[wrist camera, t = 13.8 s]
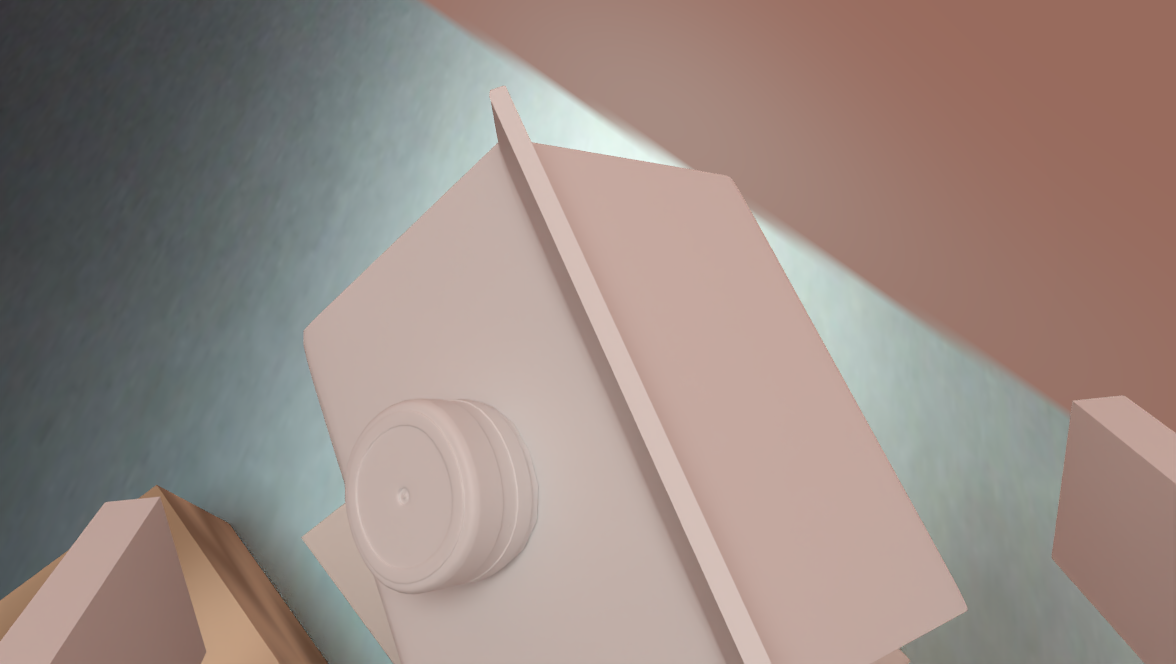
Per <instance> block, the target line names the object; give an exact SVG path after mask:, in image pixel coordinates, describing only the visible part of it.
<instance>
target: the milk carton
mask: <svg viewBox="0 0 1176 664" xmlns="http://www.w3.org/2000/svg"><path fill="white" fill-rule="evenodd" d="M489 97H490V99H491V104H492V110H493V115H494V121H495V127H496V133H497V138H498V143H497V144H496V145H495V146H494V147H493V148H492V149H491V150H490V151H489V152H488V153H487V154H486V155H485V156H484V157H482V158H481V159H480V160H479V161H478V162H477V163H476V164H475V165H474V166H473V167H472V168H471V169H470V170H469V171H468V172H467V173H466V174H465V175H464V176H463V177H462V178H461V179H460V180H459V181H458V182H456V183H455V184H454V185H453V186H452V187H451V188H450V189H449V190H448V191H447V192H446V193H445V194H444V195H443V196H442V197H441V198H440V199H439V200H438V201H437V202H436V203H435V204H434V205H433V206H432V207H431V208H429V209H428V210H427V211H426V212H425V213H424V214H423V215H422V216H421V217H420V218H419V219H418V220H417V221H416V222H415V223H414V224H413V225H412V226H411V227H410V228H409V229H408V230H407V231H406V232H405V233H404V234H402V235H401V236H400V237H399V238H398V239H397V240H396V241H395V242H394V243H393V244H392V245H391V246H390V247H389V248H388V249H387V250H386V251H385V252H384V253H383V254H382V255H381V256H380V257H379V258H378V259H376V260H375V261H374V262H373V263H372V264H371V265H370V266H369V267H368V268H367V269H366V270H365V271H364V272H363V273H362V274H361V275H360V276H359V277H358V278H357V279H356V280H355V281H354V282H353V283H352V284H351V285H349V286H348V287H347V288H346V289H345V290H344V291H343V292H342V293H341V294H340V295H339V296H338V297H337V298H336V299H335V300H334V301H333V302H332V303H331V304H330V305H329V306H328V307H327V308H326V309H325V310H323V311H322V312H321V313H320V314H319V315H318V316H317V317H316V318H315V319H314V320H313V321H312V322H311V323H310V324H309V325H308V326H307V328H306V329H305V330H304V331H303V332H304V349H305V353H306V357H307V362H308V365H309V369H310V372H311V376H312V379H313V383H314V386H315V389H316V393H317V396H318V399H319V402H320V406H321V409H322V412H323V415H324V419H325V422H326V425H327V428H328V432H329V435H330V438H331V441H332V445H333V448H334V451H335V454H336V457H337V461H338V464H339V467H340V470H341V473H342V477H343V480H344V483H345V502H346V509H347V517H348V521H349V525H350V529H351V533H352V536H353V539H354V541H355V544H356V547H357V549H358V552H359V553H360V555H361V557H362V559H363V561H364V563H365V565H366V566H367V567H368V569H369V570H370V571H371V573H372V574H373V575H374V578H375V582H376V585H377V588H378V591H379V594H380V597H381V601H382V604H383V607H384V610H385V613H386V617H387V620H388V623H389V626H390V629H391V633H392V636H393V639H394V642H395V645H396V649H397V652H398V655H399V658H400V661H401V664H871V663H873V662H874V661H876V660H878V659H880V658H882V657H884V656H885V655H887V654H889V653H891V652H893V651H894V650H896V649H898V648H900V647H902V646H904V645H905V644H907V643H909V642H911V641H913V640H915V639H916V638H918V637H920V636H922V635H924V634H926V633H927V632H929V631H931V630H933V629H935V628H937V627H938V626H940V625H942V624H944V623H946V622H947V621H949V620H951V619H953V618H955V617H957V616H958V615H960V614H962V613H964V612H966V611H967V606H966V603H965V601H964V599H963V597H962V595H961V593H960V591H959V589H958V587H957V585H956V583H955V581H954V579H953V577H952V576H951V574H950V572H949V570H948V568H947V566H946V564H945V563H944V561H943V559H942V557H941V555H940V553H939V552H938V550H937V548H936V546H935V544H934V542H933V541H932V539H931V537H930V535H929V533H928V531H927V530H926V528H925V526H924V524H923V522H922V521H921V519H920V517H919V515H918V513H917V512H916V510H915V508H914V506H913V504H912V502H911V501H910V499H909V497H908V495H907V493H906V492H905V490H904V488H903V486H902V484H901V482H900V481H899V479H898V477H897V475H896V473H895V472H894V470H893V468H892V466H891V464H890V463H889V461H888V459H887V457H886V455H885V453H884V452H883V450H882V448H881V446H880V444H879V443H878V441H877V439H876V437H875V435H874V433H873V432H872V430H871V428H870V426H869V424H868V423H867V421H866V419H865V417H864V415H863V414H862V412H861V410H860V408H859V406H858V404H857V403H856V401H855V399H854V397H853V395H852V394H851V392H850V390H849V388H848V386H847V384H846V383H845V381H844V379H843V377H842V375H841V374H840V372H839V370H838V368H837V366H836V365H835V363H834V361H833V359H832V357H831V355H830V354H829V352H828V350H827V348H826V346H825V345H824V343H823V341H822V339H821V337H820V336H819V334H818V332H817V330H816V328H815V326H814V325H813V323H812V321H811V319H810V317H809V316H808V314H807V312H806V310H805V308H804V306H803V305H802V303H801V301H800V299H799V297H798V296H797V294H796V292H795V290H794V288H793V287H792V285H791V283H790V281H789V279H788V277H787V276H786V274H785V272H784V270H783V268H782V267H781V265H780V263H779V261H778V259H777V257H776V256H775V254H774V252H773V250H772V248H771V247H770V245H769V243H768V241H767V239H766V238H765V236H764V234H763V232H762V230H761V229H760V227H759V225H758V223H757V221H756V220H755V218H754V216H753V214H752V212H751V211H750V209H749V207H748V205H747V203H746V202H745V200H744V198H743V196H742V195H741V193H740V191H739V190H738V188H737V187H736V185H735V183H734V182H733V180H732V179H731V178H730V177H729V176H726V175H720V174H715V173H708V172H703V171H697V170H691V169H685V168H679V167H674V166H668V165H662V164H656V163H650V162H644V161H638V160H632V159H627V158H621V157H615V156H609V155H603V154H597V153H591V152H585V151H580V150H574V149H568V148H562V147H556V146H550V145H544V144H538V143H533V142H531V140H530V138H529V136H528V134H527V132H526V129H525V127H524V125H523V123H522V121H521V119H520V116H519V114H518V112H517V110H516V108H515V106H514V103H513V101H512V99H511V97H510V95H509V93H508V90H507V88H506V86H501V87H498V88H495V89H492V90H490V96H489Z"/></svg>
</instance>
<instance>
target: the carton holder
mask: <svg viewBox="0 0 1176 664" xmlns="http://www.w3.org/2000/svg"><path fill="white" fill-rule="evenodd" d="M151 497H160V498H161V501H162V504H163V508H164V511H165V514H166V518H167V521H168V524H169V528H170V531H171V534H172V538H173V541H174V544H175V548H176V551H177V555H178V558H179V561H180V565H181V568H182V571H183V575H184V578H185V581H186V585H187V588H188V591H189V595H190V598H191V601H192V605H193V608H194V611H195V615H196V618H197V622H198V625H199V628H200V632H201V635H202V638H203V642H204V645H205V648H206V654H205V656H204V658H203V661H202V663H201V664H328V663H327V661H326V660H325V659H324V657H323V656H322V654H321V653H320V651H319V650H318V649H317V647H316V646H315V644H314V643H313V642H312V640H311V639H310V637H309V636H308V635H307V633H306V632H305V630H304V629H303V627H302V626H301V625H300V623H299V622H298V620H297V619H296V618H295V616H294V615H293V613H292V612H291V610H290V609H289V608H288V606H287V605H286V603H285V602H284V601H283V599H282V598H281V596H280V595H279V594H278V592H277V591H276V589H275V588H274V586H273V585H272V584H271V582H270V581H269V579H268V578H267V577H266V575H265V574H264V572H263V571H262V569H261V568H260V567H259V565H258V564H257V562H256V561H255V560H254V558H253V557H252V555H251V554H250V553H249V551H248V550H247V548H246V547H245V545H244V544H243V543H242V541H241V540H240V538H239V537H238V536H237V534H236V533H235V531H234V530H233V528H232V527H231V526H230V524H229V523H227V522H225V521H223V520H222V519H220V518H218V517H216V516H214V515H212V514H210V513H208V512H207V511H205V510H203V509H201V508H199V507H197V506H195V505H193V504H191V503H190V502H188V501H186V500H184V499H182V498H180V497H178V496H176V495H175V494H173V493H171V492H169V491H167V490H165V489H163V488H161V487H160V486H158V485H156V486H155V487H153V488H152V489H151V490H149V491H148V492H147V493H145V494H144V495H142V496H141V497H140V498H138V499H142V498H151ZM68 551H69V550H68ZM68 551H67V552H68ZM67 552H65V553H64V554H63V555H61V556H60V557H59V558H57V559H56V560H55V561H53V562H52V563H51V564H49V565H48V566H46V567H45V568H44V569H42V570H41V571H40V572H38V573H37V574H36V575H34V576H33V577H32V578H30V579H29V580H28V581H26V582H25V583H23V584H22V585H21V586H19V587H18V588H17V589H15V590H14V591H13V592H11V593H10V594H9V595H7V596H6V597H5V598H3V599H2V600H0V641H1V640H2V638H3V637H4V636H5V634H6V633H7V632H8V630H9V629H10V628H11V626H12V625H13V624H14V622H15V621H16V620H17V618H18V617H19V616H20V615H21V613H22V612H23V611H24V609H25V608H26V607H27V605H28V604H29V603H30V601H31V600H32V599H33V597H34V596H35V595H36V593H37V592H38V591H39V589H40V588H41V587H42V585H43V584H44V583H45V581H46V580H47V579H48V577H49V576H50V575H51V573H52V572H53V571H54V569H55V568H56V567H57V565H58V564H59V563H60V561H61V560H62V559H63V557H64V556H65V555H66V553H67Z"/></svg>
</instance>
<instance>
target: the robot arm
mask: <svg viewBox="0 0 1176 664" xmlns="http://www.w3.org/2000/svg"><path fill="white" fill-rule="evenodd" d="M1052 559H1053V560H1054V561H1055V562H1056V564H1057V565H1058V566H1059V567H1060V568H1061V569H1062V570H1063V572H1064V573H1065V574H1066V575H1067V576H1068V577H1069V578H1070V579H1071V581H1072V582H1073V583H1074V584H1075V585H1076V586H1077V587H1078V589H1079V590H1080V591H1081V592H1082V593H1083V594H1084V595H1085V596H1086V598H1087V599H1088V600H1089V601H1090V602H1091V603H1092V604H1093V605H1094V607H1095V608H1096V609H1097V610H1098V611H1099V612H1100V613H1101V615H1102V616H1103V617H1104V618H1105V619H1106V620H1107V621H1108V622H1109V624H1110V625H1111V626H1112V627H1113V628H1114V629H1115V630H1116V631H1117V633H1118V634H1119V635H1120V636H1121V637H1122V638H1123V639H1124V641H1125V642H1126V643H1127V644H1128V645H1129V646H1130V647H1131V648H1132V650H1133V651H1134V652H1135V653H1136V654H1137V655H1138V656H1139V657H1140V659H1141V660H1142V661H1143V662H1144V663H1145V664H1176V433H1175V432H1173V431H1172V430H1171V429H1169V428H1168V427H1166V426H1165V425H1164V424H1162V423H1161V422H1160V421H1158V420H1157V419H1156V418H1154V417H1153V416H1151V415H1150V414H1149V413H1147V412H1146V411H1145V410H1143V409H1142V408H1140V407H1139V406H1138V405H1136V404H1135V403H1134V402H1132V401H1131V400H1129V399H1128V398H1127V397H1125V396H1114V397H1105V398H1095V399H1085V400H1076V401H1072V409H1071V416H1070V424H1069V431H1068V439H1067V446H1066V454H1065V461H1064V469H1063V476H1062V484H1061V491H1060V499H1059V506H1058V514H1057V521H1056V528H1055V536H1054V543H1053V551H1052ZM205 654H206V648H205V645H204V642H203V638H202V635H201V632H200V628H199V625H198V622H197V618H196V615H195V611H194V608H193V605H192V601H191V598H190V595H189V591H188V588H187V585H186V581H185V578H184V575H183V571H182V568H181V565H180V561H179V558H178V555H177V551H176V548H175V544H174V541H173V538H172V534H171V531H170V528H169V524H168V521H167V518H166V514H165V511H164V508H163V504H162V501H161V498H160V497H151V498H142V499H132V500H123V501H113V502H105V503H104V504H103V506H102V507H101V508H100V510H99V511H98V512H97V514H96V515H95V516H94V518H93V519H92V520H91V522H90V523H89V524H88V526H87V527H86V528H85V530H84V531H83V532H82V534H81V535H80V536H79V538H78V539H77V540H76V542H75V543H74V544H73V545H72V547H71V548H70V549H69V551H68V552H67V553H66V555H65V556H64V557H63V559H62V560H61V561H60V563H59V564H58V565H57V567H56V568H55V569H54V571H53V572H52V573H51V575H50V576H49V577H48V579H47V580H46V581H45V583H44V584H43V585H42V587H41V588H40V589H39V591H38V592H37V593H36V595H35V596H34V597H33V599H32V600H31V601H30V603H29V604H28V605H27V607H26V608H25V609H24V611H23V612H22V613H21V615H20V616H19V617H18V618H17V620H16V621H15V622H14V624H13V625H12V626H11V628H10V629H9V630H8V632H7V633H6V634H5V636H4V637H3V638H2V640H1V641H0V664H201V663H202V661H203V658H204V656H205Z"/></svg>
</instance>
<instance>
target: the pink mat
mask: <svg viewBox="0 0 1176 664" xmlns="http://www.w3.org/2000/svg"><path fill="white" fill-rule="evenodd" d="M301 538H302V539H303V541H304V542H305V543H306V545H307V546H308V548H309V549H310V550H311V552H312V553H313V554H314V556H315V557H316V558H317V560H318V561H319V563H320V564H321V565H322V567H323V568H324V569H325V571H326V572H327V573H328V575H329V576H330V578H331V579H332V580H333V582H334V583H335V584H336V586H337V587H338V588H339V590H340V591H341V593H342V594H343V595H344V597H345V598H346V599H347V601H348V602H349V603H350V605H351V606H352V608H353V609H354V610H355V612H356V613H357V614H358V616H359V617H360V618H361V620H362V621H363V623H364V624H365V625H366V627H367V628H368V629H369V631H370V632H371V633H372V635H373V636H374V638H375V639H376V640H377V642H378V643H379V644H380V646H381V647H382V648H383V650H384V651H385V653H386V654H387V655H388V657H389V658H390V659H391V661H392V662H393V663H394V664H401V661H400V658H399V655H398V652H397V649H396V645H395V642H394V639H393V636H392V633H391V629H390V626H389V623H388V620H387V617H386V613H385V610H384V607H383V604H382V601H381V597H380V594H379V591H378V588H377V585H376V582H375V578H374V575H373V574H372V573H371V571H370V570H369V569H368V567H367V566H366V565H365V563H364V561H363V559H362V557H361V555H360V553H359V552H358V549H357V547H356V544H355V541H354V539H353V536H352V533H351V529H350V525H349V521H348V517H347V509H346V503H344V504H343V505H342V506H341V507H339V508H338V509H337V510H335V511H334V512H333V513H332V514H330V515H329V516H328V517H327V518H325V519H324V520H323V521H322V522H320V523H319V524H318V525H317V526H315V527H314V528H313V529H311V530H310V531H309V532H308V533H306V534H305V535H304V536H303V537H301ZM909 662H910V660H909V659H908V658H907V656H906V655H905V654H904V653H903V652H902V651H901V650H900V649H899V648H898V649H896V650H894V651H893V652H891V653H889V654H887V655H885V656H884V657H882V658H880V659H878V660H876V661H874V662H873V663H871V664H908V663H909Z"/></svg>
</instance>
